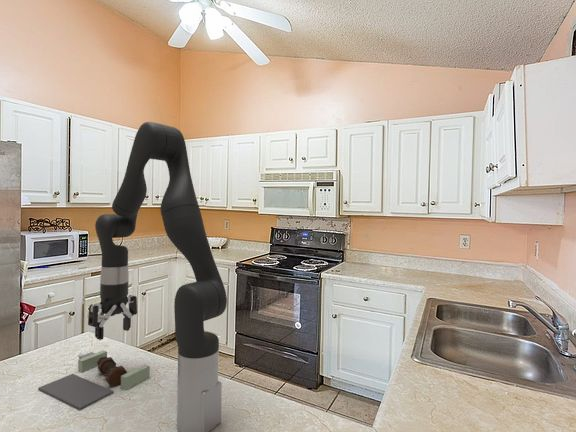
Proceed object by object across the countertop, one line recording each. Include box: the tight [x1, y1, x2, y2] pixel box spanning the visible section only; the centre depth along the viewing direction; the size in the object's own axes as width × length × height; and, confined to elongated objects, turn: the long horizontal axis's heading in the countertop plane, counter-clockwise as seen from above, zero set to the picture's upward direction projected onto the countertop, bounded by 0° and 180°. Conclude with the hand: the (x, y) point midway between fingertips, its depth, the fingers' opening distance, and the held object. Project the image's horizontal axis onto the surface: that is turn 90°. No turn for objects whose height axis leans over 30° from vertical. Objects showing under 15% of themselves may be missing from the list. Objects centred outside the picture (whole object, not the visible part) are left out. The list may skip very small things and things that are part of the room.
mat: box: [37, 373, 115, 411], centre depth 90 cm, size 19×9×1 cm, turn 62°
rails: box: [77, 349, 151, 391], centre depth 101 cm, size 28×8×4 cm, turn 62°
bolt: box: [97, 356, 128, 388], centre depth 99 cm, size 6×5×15 cm
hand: (113, 334), depth 100 cm, fingers open, 8 cm apart
